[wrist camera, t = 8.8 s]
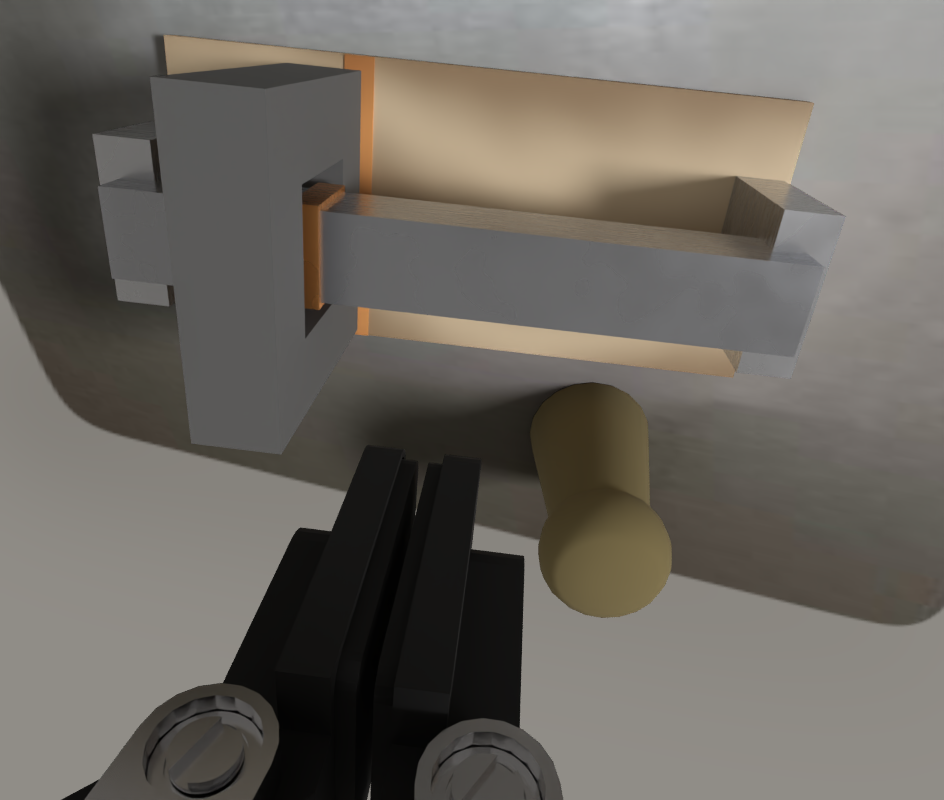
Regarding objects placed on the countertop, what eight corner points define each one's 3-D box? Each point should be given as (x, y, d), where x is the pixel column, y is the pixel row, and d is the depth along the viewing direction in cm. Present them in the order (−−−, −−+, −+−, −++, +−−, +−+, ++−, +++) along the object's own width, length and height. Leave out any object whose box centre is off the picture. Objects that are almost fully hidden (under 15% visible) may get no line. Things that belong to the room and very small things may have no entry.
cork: (527, 481, 38) (524, 637, 28) (532, 380, 35) (530, 514, 25) (641, 486, 37) (679, 646, 27) (655, 384, 34) (702, 522, 25)
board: (172, 35, 29) (162, 35, 28) (807, 101, 28) (815, 103, 27) (199, 308, 34) (191, 315, 34) (728, 370, 34) (733, 378, 33)
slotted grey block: (286, 62, 28) (149, 76, 18) (361, 70, 27) (264, 88, 18) (294, 322, 33) (191, 443, 23) (357, 329, 33) (281, 454, 23)
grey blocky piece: (177, 115, 29) (64, 139, 22) (784, 181, 29) (866, 228, 22) (191, 254, 32) (94, 314, 25) (744, 317, 32) (805, 398, 24)
